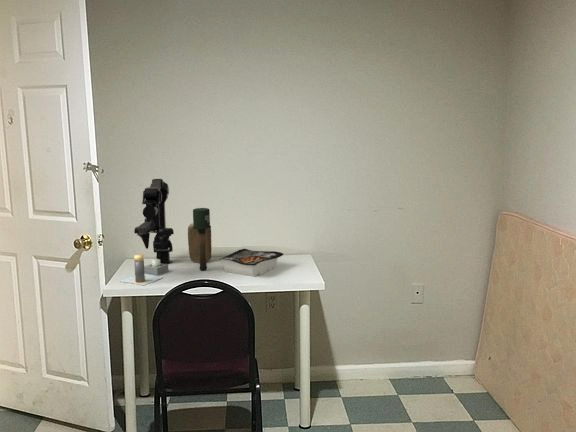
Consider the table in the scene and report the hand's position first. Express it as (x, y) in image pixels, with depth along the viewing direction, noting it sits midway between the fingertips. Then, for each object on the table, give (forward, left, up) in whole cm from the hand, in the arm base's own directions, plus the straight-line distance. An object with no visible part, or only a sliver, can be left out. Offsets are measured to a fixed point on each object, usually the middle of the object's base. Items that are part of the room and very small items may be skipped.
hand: (154, 249), depth 275 cm
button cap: (-7, -6, -12) cm, 15 cm away
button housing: (-7, -6, -14) cm, 16 cm away
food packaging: (-31, +32, -14) cm, 47 cm away
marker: (+9, -2, -13) cm, 16 cm away
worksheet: (+6, -4, -14) cm, 15 cm away
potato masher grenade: (-20, +12, -14) cm, 27 cm away
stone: (-33, +1, -14) cm, 36 cm away
